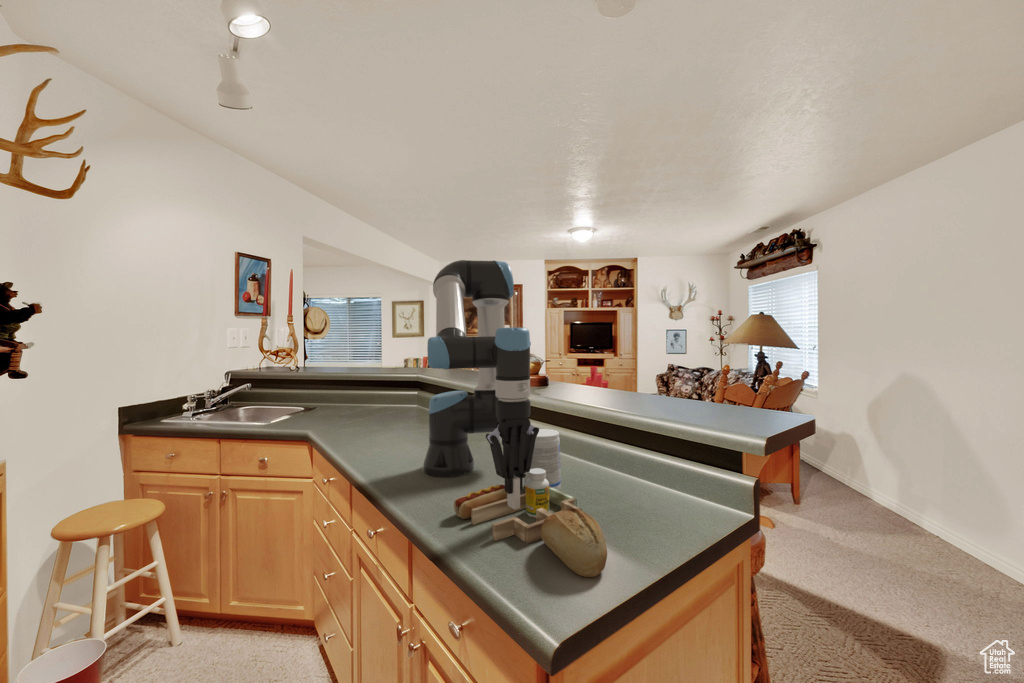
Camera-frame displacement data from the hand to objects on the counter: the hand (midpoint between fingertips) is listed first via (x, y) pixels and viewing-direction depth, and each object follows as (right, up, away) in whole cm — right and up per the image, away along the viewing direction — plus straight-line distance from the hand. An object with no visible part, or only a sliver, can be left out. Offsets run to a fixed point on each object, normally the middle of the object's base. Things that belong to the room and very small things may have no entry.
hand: (513, 506), depth 86 cm
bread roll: (+11, -3, -15) cm, 19 cm away
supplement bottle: (+5, -3, +3) cm, 7 cm away
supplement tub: (+8, -3, +18) cm, 20 cm away
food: (-7, -3, +5) cm, 9 cm away
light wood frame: (+4, -3, -1) cm, 5 cm away
